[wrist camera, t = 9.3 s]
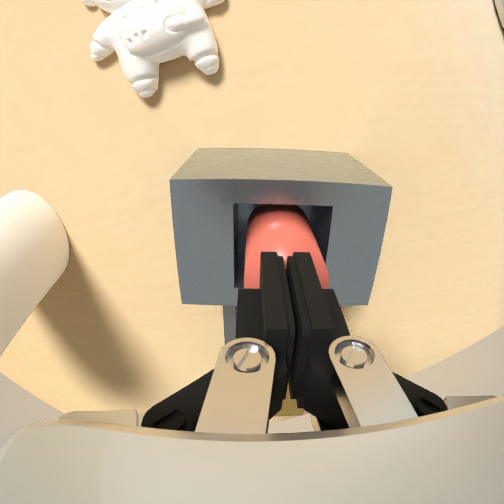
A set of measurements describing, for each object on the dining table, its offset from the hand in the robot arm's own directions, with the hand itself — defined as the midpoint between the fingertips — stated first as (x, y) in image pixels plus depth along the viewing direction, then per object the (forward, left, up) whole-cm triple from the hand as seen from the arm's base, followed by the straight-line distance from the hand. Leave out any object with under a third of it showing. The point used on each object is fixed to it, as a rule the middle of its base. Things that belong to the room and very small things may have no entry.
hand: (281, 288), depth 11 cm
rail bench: (0, +7, -10) cm, 12 cm away
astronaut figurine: (+7, -12, -10) cm, 18 cm away
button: (0, 0, -5) cm, 5 cm away
